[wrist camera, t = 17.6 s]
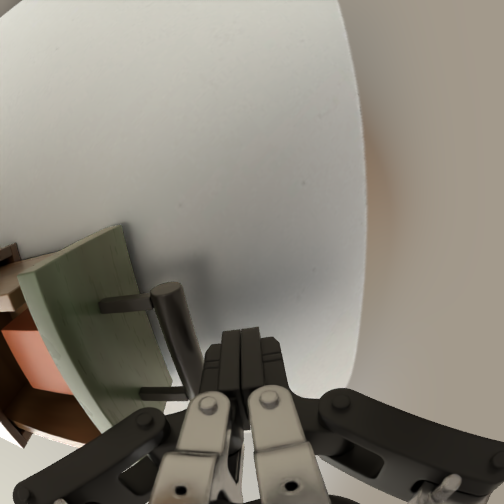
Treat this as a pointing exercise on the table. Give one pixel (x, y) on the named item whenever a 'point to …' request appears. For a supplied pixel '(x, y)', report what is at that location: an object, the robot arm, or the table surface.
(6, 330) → the block
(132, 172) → the table surface
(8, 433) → the cabinet
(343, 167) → the table surface
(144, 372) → the drawer
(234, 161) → the table surface
